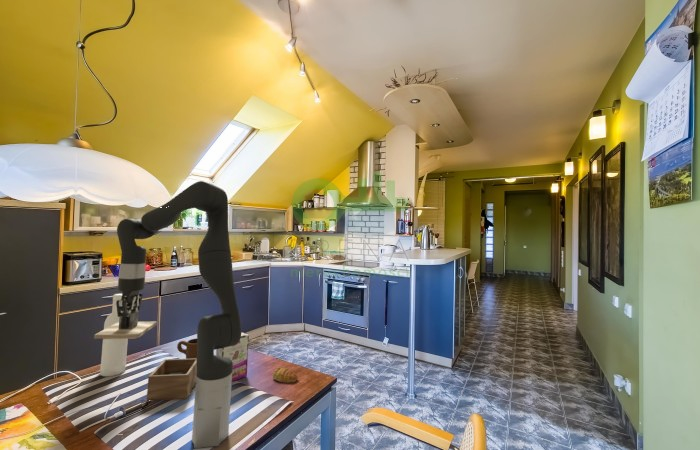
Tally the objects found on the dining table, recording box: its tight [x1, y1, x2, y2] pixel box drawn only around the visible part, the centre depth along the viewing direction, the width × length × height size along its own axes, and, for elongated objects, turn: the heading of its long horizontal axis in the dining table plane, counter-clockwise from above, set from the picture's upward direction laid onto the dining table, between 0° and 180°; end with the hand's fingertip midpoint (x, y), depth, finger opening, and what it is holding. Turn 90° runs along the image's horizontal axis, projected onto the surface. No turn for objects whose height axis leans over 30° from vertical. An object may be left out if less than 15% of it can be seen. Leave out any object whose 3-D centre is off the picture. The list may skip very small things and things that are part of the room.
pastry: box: [272, 367, 299, 384], centre depth 120 cm, size 9×7×4 cm
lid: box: [93, 310, 158, 340], centre depth 105 cm, size 15×13×7 cm
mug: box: [176, 337, 197, 359], centre depth 130 cm, size 12×8×9 cm, turn 89°
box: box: [146, 358, 197, 402], centre depth 108 cm, size 14×12×8 cm
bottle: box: [99, 293, 129, 377], centre depth 119 cm, size 8×8×30 cm
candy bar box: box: [215, 331, 250, 382], centre depth 118 cm, size 11×5×16 cm, turn 143°
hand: (128, 325), depth 105 cm, fingers closed on lid, 4 cm apart
